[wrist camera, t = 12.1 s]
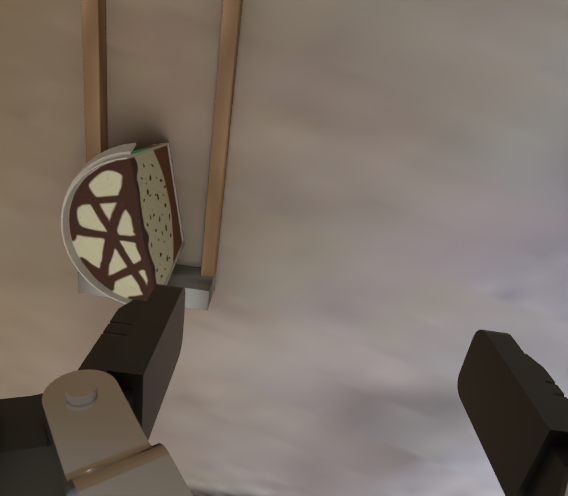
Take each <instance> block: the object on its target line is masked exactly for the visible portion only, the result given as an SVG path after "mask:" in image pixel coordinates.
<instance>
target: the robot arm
mask: <svg viewBox="0 0 568 496" xmlns="http://www.w3.org/2000/svg"><path fill="white" fill-rule="evenodd" d="M184 309H185V288H183V287H176V286H169V285H161V284H157V285H156V286H155V287H154V289H153V291H152V293H151V294H150V296H149V298H148V299H147V301H141V300H134V299H133V300H132V301H130V302H129V303H127V304H125V305H124V306H122V307H121V308H119V309H118V310H117V312H116V313H115V315H114V316H113V318H112V319H111V321H110V324H108V325H107V327H106V328H105V330H104V332H103V334H101V336H100V338H99V339H98V341H97V342H96V344H95V345H94V347H93V348H92V350H91V351H90V353H89V354H88V356H87V357H86V359H85V360H84V362H83V363H82V365H81V366H80V368H79V369H78V371H73V372H70V373H67V374H65V375H63V376H60V377H59V378H57V379H55V380H54V381H53V382H52V383H50V384H49V386H48V387H47V388H46V389H45V391H44V393H43V394H39V395H34V396H26V397H17V398H8V399H0V496H193V495H192V494H191V492H190V490H189V488H188V486H187V485H186V483H185V481H184V479H183V477H182V476H181V474H180V472H179V470H178V468H177V467H176V465H175V463H174V461H173V459H172V458H171V456H170V454H169V452H168V451H167V449H166V448H165V447H164V446H163V445H162V444H161V443H158V444H156V445H153V446H151V445H150V443H149V442H148V439H149V437H150V434H151V431H152V428H153V426H154V423H155V420H156V418H157V415H158V412H159V409H160V407H161V404H162V401H163V399H164V396H165V393H166V391H167V388H168V385H169V382H170V380H171V377H172V374H173V372H174V369H175V366H176V363H177V361H178V358H179V354H180V350H181V345H182V338H183V324H184ZM458 393H459V397H460V399H461V401H462V404H463V406H464V408H465V410H466V412H467V414H468V416H469V419H470V421H471V423H472V425H473V427H474V429H475V431H476V434H477V436H478V438H479V440H480V442H481V444H482V446H483V449H484V451H485V453H486V455H487V457H488V459H489V461H490V464H491V466H492V468H493V470H494V472H495V474H496V476H497V479H498V481H499V483H500V485H501V487H502V489H503V491H504V494H505V496H568V399H567V397H564V393H563V392H562V391H561V389H560V388H559V387H558V386H557V385H555V382H554V380H553V379H552V378H551V376H550V375H549V374H548V373H547V371H546V370H545V369H544V368H543V367H542V366H541V365H540V364H538V363H537V362H536V361H535V360H533V359H532V358H531V357H530V356H528V355H527V354H524V352H523V351H522V350H521V348H520V347H519V346H518V344H517V343H516V342H515V340H514V339H513V338H512V336H511V335H510V334H508V333H501V332H494V331H487V330H478V331H477V332H476V333H475V335H474V337H473V340H472V342H471V345H470V347H469V350H468V352H467V355H466V358H465V360H464V363H463V365H462V368H461V371H460V373H459V377H458Z"/></svg>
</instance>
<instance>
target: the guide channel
mask: <svg viewBox="0 0 568 496" xmlns="http://www.w3.org/2000/svg"><path fill="white" fill-rule="evenodd" d="M242 1H243V0H223V11H222V23H221V35H220V47H219V60H218V72H217V84H216V96H215V109H214V121H213V133H212V145H211V157H210V170H209V182H208V194H207V206H206V218H205V231H204V243H203V255H202V267H201V268H196V267H189V266H182V265H175V266H174V269H173V271H172V274H171V276H170V278H169V281H168V283H167V285H169V286H176V287H183V288H185V308H193V309H200V310H208V307H209V304H210V301H211V298H212V295H213V292H214V289H215V278H216V268H217V258H218V248H219V237H220V227H221V217H222V206H223V196H224V186H225V176H226V165H227V155H228V145H229V135H230V124H231V114H232V104H233V93H234V83H235V73H236V63H237V52H238V42H239V32H240V21H241V11H242ZM81 10H82V41H83V72H84V103H85V135H86V163H87V162H89V161H90V160H91V159H92V158H94V157H95V156H96V155H98V154H100V153H102V152H104V151H106V150H108V147H107V66H106V0H81ZM78 293H83V294H91V295H98V296H105V297H108V296H106V295H105V294H103V293H102V292H100V291H99V290H97V289H96V288H95V287H94V286H92V285H91V284H90V283H89V282H88V281H87V280H86V279H85V278H84V277H83V276H82V275H81V274H80V272H78Z"/></svg>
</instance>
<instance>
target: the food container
mask: <svg viewBox="0 0 568 496" xmlns="http://www.w3.org/2000/svg"><path fill="white" fill-rule="evenodd" d="M135 146H136V143H130V144H123V145H119V146H116V147H113V148H110V149H108V150H106V151H104V152H102V153H100V154H98V155H96V156H95V157H94V158H92V159H91V160H90V161H89V162H87V163H86V164H85V166H84V167H83V168H82V169H81V170H80V171H79V172H78V174H77V176H76V177H75V179H74V180H73V182H72V184H71V185H70V187H69V189H68V190H67V193H66V196H65V198H64V201H63V207H62V213H61V231H62V236H63V242H64V245H65V247H66V250H67V253H68V255H69V257H70V259H71V261H72V262H73V264H74V266H75V267H76V268H77V270H78V271H79V272H80V274H81V275H82V276H83V277H84V278H85V279H86V280H87V281H88V282H89V283H90V284H91V285H92V286H94V287H95V288H96V289H97V290H99V291H100V292H102V293H103V294H105V295H106V296H108V297H110V298H112V299H114V300H116V301H119V302H121V303H124V304H127V303H129V302H130V301H132V300H133V299H134V300H141V301H147V299H148V298H149V296H150V294H151V293H152V291H153V289H154V287H155V286H156V285H157V284H161V285H167V283H168V281H169V278H170V276H171V274H172V271H173V269H174V266H175V264H176V262H177V259H178V257H179V254H180V252H181V250H182V247H183V245H184V237H183V231H182V224H181V217H180V211H179V204H178V198H177V191H176V185H175V178H174V171H173V165H172V158H171V152H170V145H169V142H164V143H156V144H153V145H150V146H147V147H144V148H141V149H138V150H135V151H133V149H134V148H135Z"/></svg>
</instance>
